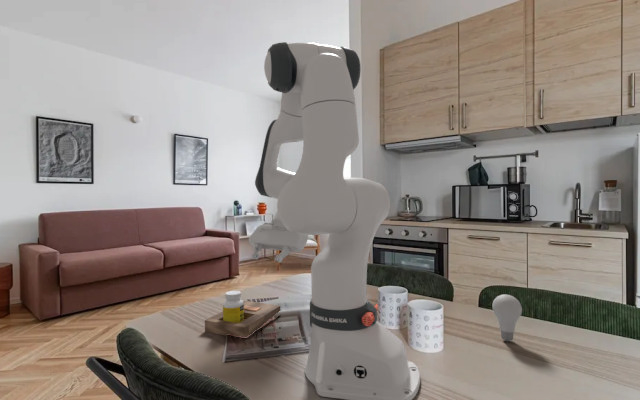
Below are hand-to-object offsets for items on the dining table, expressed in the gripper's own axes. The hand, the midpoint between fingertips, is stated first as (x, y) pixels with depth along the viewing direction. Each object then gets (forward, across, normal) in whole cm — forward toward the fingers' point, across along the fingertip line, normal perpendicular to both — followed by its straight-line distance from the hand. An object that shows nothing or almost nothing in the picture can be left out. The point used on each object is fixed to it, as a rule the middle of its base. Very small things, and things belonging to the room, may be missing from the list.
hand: (265, 259), depth 100 cm
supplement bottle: (+21, 0, +3) cm, 21 cm away
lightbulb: (0, +62, +23) cm, 66 cm away
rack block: (+17, -1, +6) cm, 18 cm away
